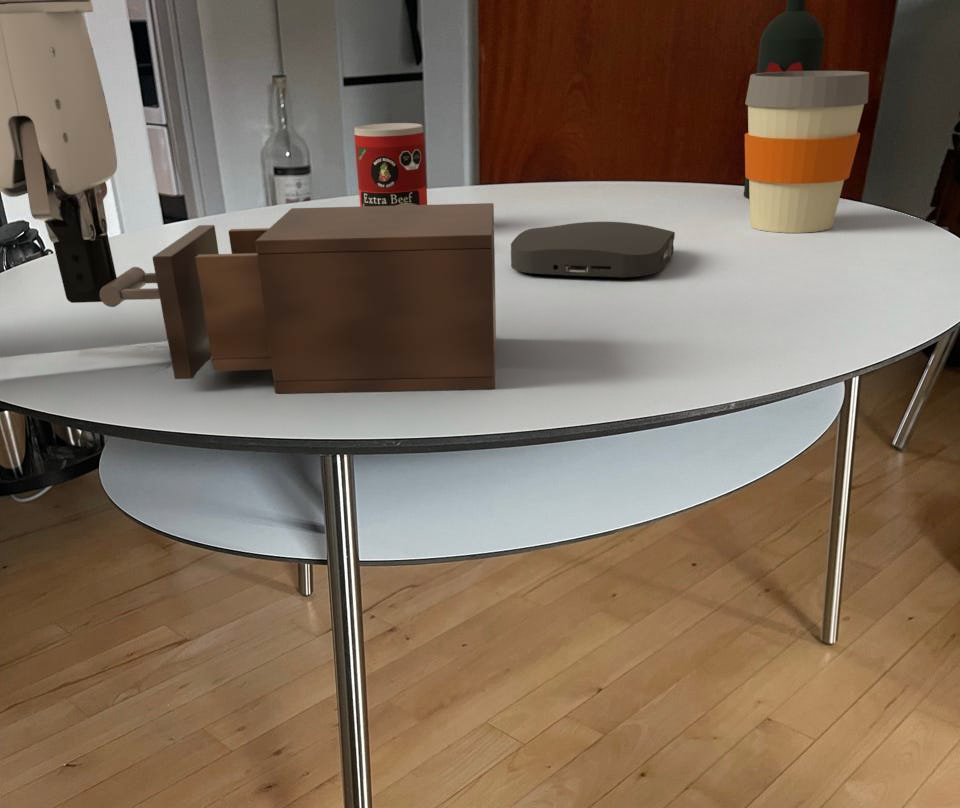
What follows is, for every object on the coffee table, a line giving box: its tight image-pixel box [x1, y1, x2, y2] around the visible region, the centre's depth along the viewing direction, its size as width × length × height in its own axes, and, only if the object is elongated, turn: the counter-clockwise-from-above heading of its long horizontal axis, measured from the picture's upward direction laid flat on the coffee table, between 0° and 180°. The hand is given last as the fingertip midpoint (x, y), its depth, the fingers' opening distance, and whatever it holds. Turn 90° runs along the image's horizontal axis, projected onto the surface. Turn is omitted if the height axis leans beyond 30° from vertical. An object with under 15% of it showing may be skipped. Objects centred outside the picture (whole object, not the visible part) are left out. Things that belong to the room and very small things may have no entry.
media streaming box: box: [510, 221, 676, 279], centre depth 100 cm, size 15×15×3 cm
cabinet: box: [255, 202, 497, 394], centre depth 71 cm, size 15×13×10 cm
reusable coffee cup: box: [744, 70, 870, 234], centre depth 111 cm, size 13×13×15 cm
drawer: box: [100, 224, 272, 380], centre depth 71 cm, size 18×11×8 cm, turn 89°
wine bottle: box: [743, 0, 826, 199], centre depth 125 cm, size 8×10×30 cm
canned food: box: [353, 122, 428, 207], centre depth 116 cm, size 8×8×11 cm
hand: (94, 298), depth 71 cm, fingers closed
